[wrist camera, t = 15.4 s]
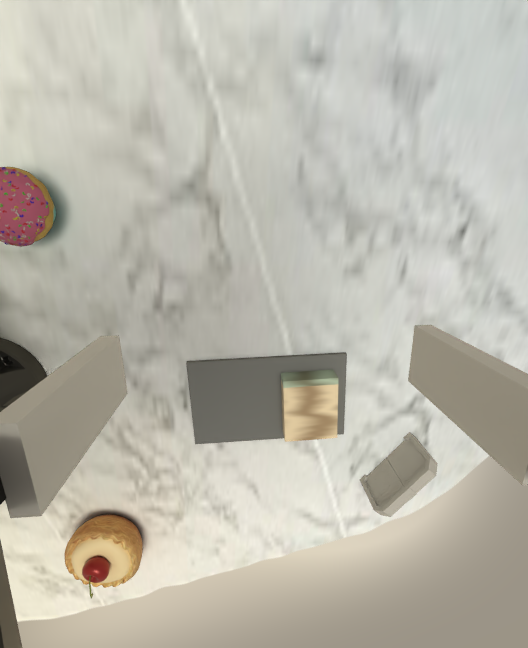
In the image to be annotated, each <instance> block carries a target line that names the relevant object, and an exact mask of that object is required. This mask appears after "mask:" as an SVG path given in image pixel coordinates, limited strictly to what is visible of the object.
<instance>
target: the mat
mask: <svg viewBox="0 0 528 648" xmlns="http://www.w3.org/2000/svg"><path fill="white" fill-rule="evenodd" d="M346 361H347V354H346V353H328V354H310V355H292V356H274V357H256V358H238V359H220V360H202V361H187V371H188V381H189V390H190V399H191V408H192V417H193V426H194V435H195V444H205V443H220V442H234V441H249V440H264V439H278V438H284V434H283V422H282V391H281V373H286V372H301V371H316V370H332V369H333V370H334V372H335V373H336V375H337V376H338V421H337V434H344V413H345V387H346Z"/></svg>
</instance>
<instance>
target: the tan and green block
mask: <svg viewBox="0 0 528 648" xmlns="http://www.w3.org/2000/svg"><path fill="white" fill-rule="evenodd" d="M281 391H282V422H283V434H284V439H285V442H287V441H300V440H314V439H327V438H337V421H338V376H337V375H336V373H335V372H334V370H333V369H332V370H316V371H301V372H286V373H281Z"/></svg>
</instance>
